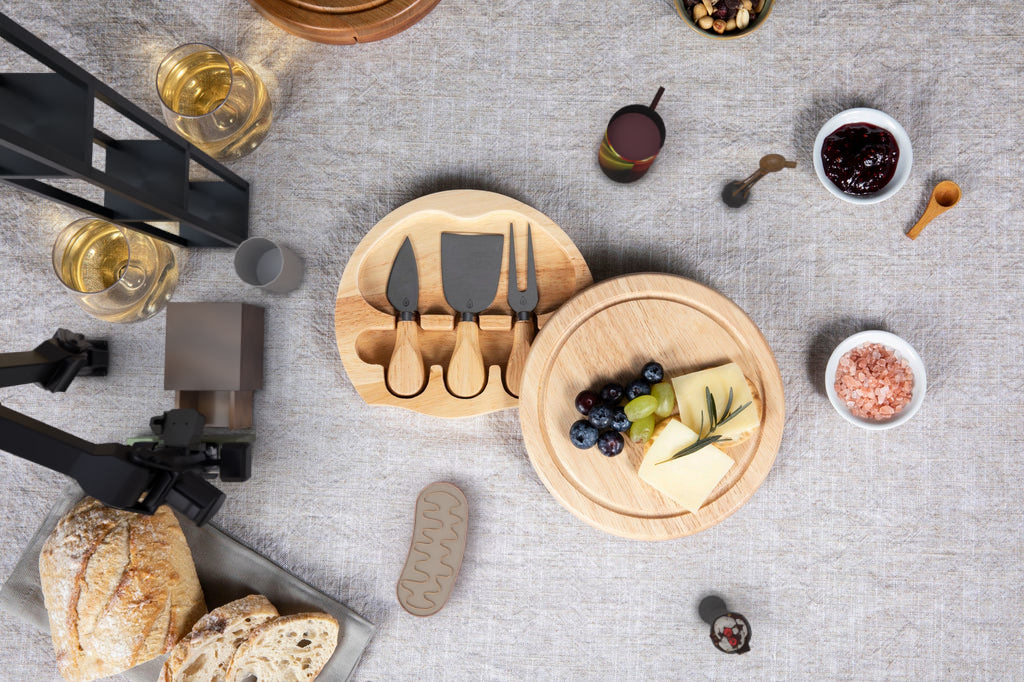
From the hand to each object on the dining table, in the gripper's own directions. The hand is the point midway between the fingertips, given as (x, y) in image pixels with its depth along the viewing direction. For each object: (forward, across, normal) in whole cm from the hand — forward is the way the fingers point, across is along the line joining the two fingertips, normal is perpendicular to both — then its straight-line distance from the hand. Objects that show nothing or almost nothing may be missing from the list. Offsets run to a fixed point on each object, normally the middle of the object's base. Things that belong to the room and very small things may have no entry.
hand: (215, 455), depth 114 cm
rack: (+4, +3, -43) cm, 43 cm away
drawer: (+3, 0, -7) cm, 7 cm away
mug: (+5, -71, -55) cm, 90 cm away
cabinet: (+4, 0, -19) cm, 19 cm away
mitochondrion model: (+5, -38, +16) cm, 41 cm away
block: (+4, +13, -1) cm, 14 cm away
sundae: (+5, -86, +27) cm, 90 cm away
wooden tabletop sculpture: (+5, -91, -46) cm, 102 cm away
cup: (+4, -9, -32) cm, 34 cm away
